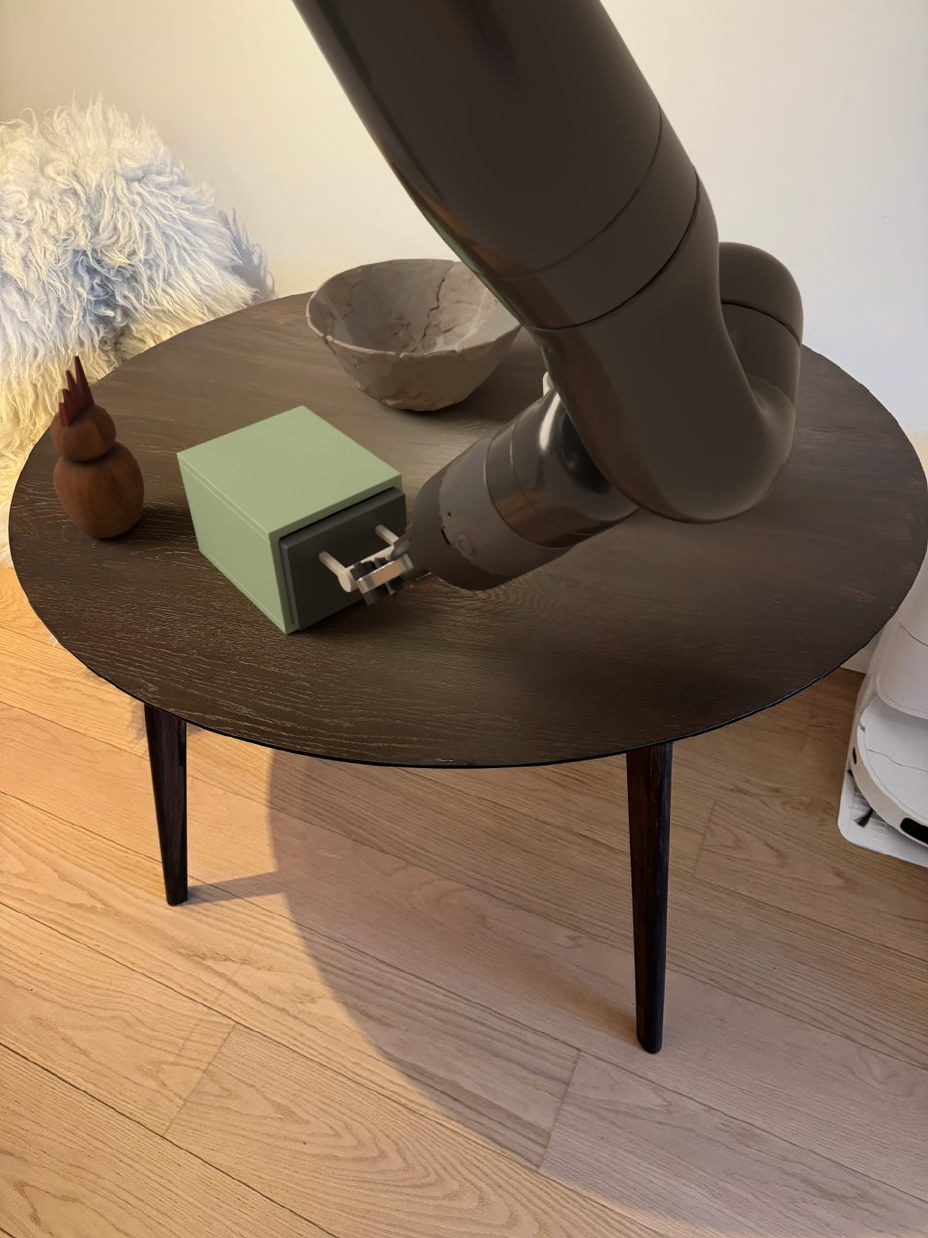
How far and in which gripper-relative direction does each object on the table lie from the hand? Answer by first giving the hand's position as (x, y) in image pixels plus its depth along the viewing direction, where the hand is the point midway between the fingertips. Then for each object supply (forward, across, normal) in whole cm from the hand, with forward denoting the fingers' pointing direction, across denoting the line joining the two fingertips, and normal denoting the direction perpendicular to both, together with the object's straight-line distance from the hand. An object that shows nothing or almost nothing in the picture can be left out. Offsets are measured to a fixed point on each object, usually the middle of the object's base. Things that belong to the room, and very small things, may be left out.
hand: (389, 578), depth 66 cm
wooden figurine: (+24, +10, -16) cm, 30 cm away
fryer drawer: (+10, 0, -3) cm, 10 cm away
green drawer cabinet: (+13, 0, -5) cm, 14 cm away
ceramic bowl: (+25, -25, -17) cm, 39 cm away
